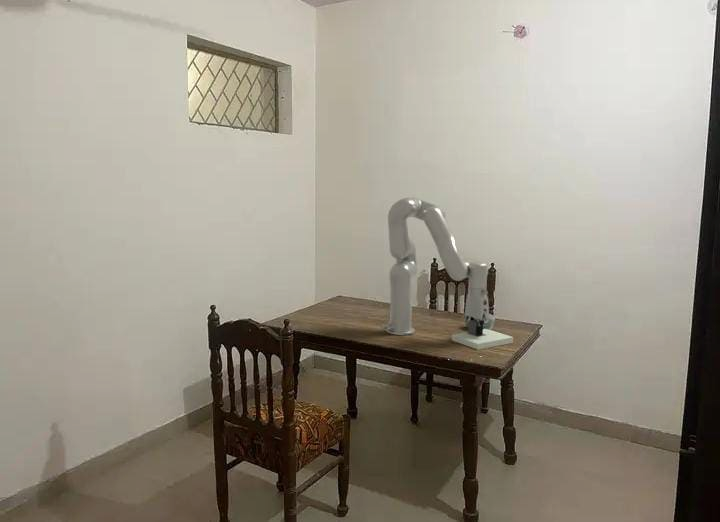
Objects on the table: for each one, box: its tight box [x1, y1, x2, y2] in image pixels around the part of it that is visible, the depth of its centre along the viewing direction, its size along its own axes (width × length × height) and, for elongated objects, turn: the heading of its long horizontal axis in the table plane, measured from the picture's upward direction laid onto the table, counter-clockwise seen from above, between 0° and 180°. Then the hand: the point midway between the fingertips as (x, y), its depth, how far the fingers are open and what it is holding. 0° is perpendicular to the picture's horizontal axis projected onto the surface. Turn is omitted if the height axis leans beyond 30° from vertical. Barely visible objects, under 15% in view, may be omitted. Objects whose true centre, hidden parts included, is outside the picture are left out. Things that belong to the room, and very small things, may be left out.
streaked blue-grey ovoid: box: [465, 313, 496, 330], centre depth 255 cm, size 14×10×10 cm
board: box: [451, 329, 514, 350], centre depth 235 cm, size 20×16×2 cm
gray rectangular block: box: [467, 319, 481, 337], centre depth 238 cm, size 4×4×8 cm
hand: (475, 333), depth 238 cm, fingers closed on gray rectangular block, 3 cm apart
